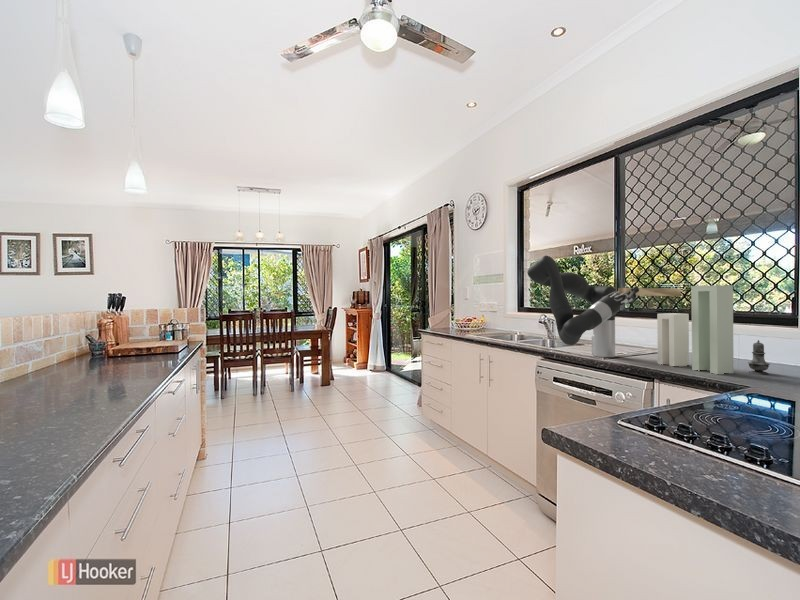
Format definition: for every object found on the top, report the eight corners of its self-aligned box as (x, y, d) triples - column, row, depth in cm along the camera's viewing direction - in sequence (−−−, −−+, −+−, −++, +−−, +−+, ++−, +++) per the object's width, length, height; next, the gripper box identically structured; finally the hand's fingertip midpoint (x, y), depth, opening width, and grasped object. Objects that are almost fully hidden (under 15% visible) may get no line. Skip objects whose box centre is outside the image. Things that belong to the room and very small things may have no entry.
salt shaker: (765, 375, 133) (765, 341, 133) (744, 372, 138) (744, 339, 138) (773, 373, 136) (772, 340, 136) (751, 370, 141) (751, 338, 141)
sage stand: (692, 370, 144) (691, 286, 144) (707, 368, 146) (706, 286, 146) (717, 374, 136) (716, 285, 135) (733, 373, 138) (732, 285, 138)
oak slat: (618, 295, 150) (618, 288, 150) (672, 295, 157) (672, 288, 157) (625, 295, 146) (625, 287, 146) (680, 295, 154) (680, 288, 154)
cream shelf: (657, 364, 158) (657, 313, 157) (672, 362, 160) (671, 313, 160) (674, 366, 151) (673, 314, 151) (689, 365, 153) (688, 313, 153)
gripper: (613, 301, 138) (645, 279, 142) (584, 301, 152) (614, 280, 156) (621, 319, 139) (653, 296, 143) (592, 317, 153) (622, 296, 157)
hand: (633, 288), depth 149 cm, fingers closed on oak slat, 3 cm apart
